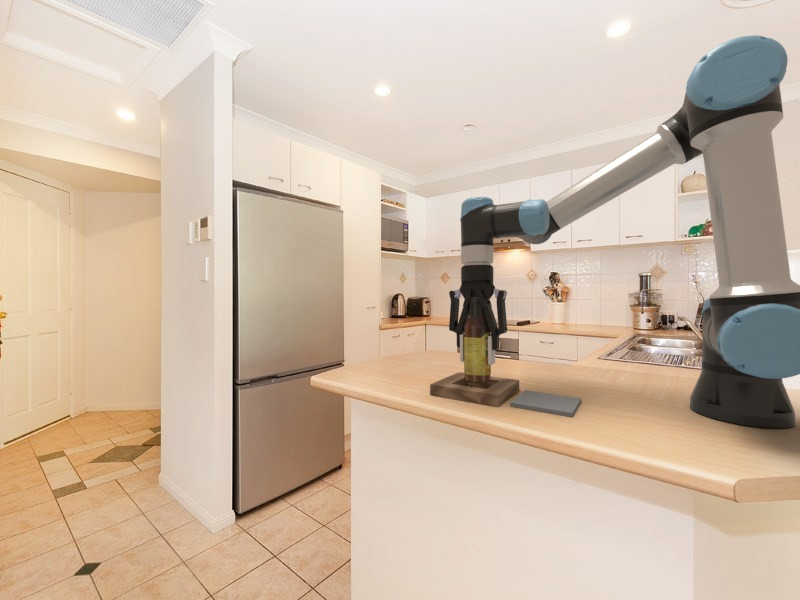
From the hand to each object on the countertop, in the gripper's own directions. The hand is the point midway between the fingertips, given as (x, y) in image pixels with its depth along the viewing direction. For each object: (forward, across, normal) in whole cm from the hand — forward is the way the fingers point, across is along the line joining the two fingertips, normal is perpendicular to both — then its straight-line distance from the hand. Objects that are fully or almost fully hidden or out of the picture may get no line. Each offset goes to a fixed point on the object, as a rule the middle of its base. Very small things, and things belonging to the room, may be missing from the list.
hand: (477, 362), depth 88 cm
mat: (+8, -16, 0) cm, 17 cm away
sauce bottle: (+5, 0, 0) cm, 5 cm away
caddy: (+7, 0, 0) cm, 7 cm away
